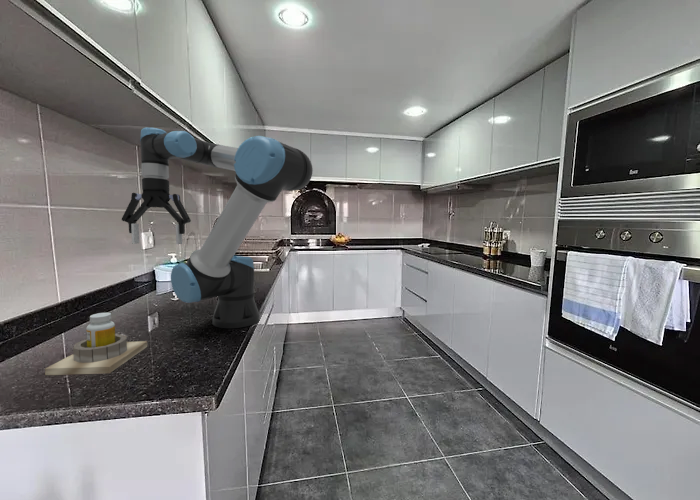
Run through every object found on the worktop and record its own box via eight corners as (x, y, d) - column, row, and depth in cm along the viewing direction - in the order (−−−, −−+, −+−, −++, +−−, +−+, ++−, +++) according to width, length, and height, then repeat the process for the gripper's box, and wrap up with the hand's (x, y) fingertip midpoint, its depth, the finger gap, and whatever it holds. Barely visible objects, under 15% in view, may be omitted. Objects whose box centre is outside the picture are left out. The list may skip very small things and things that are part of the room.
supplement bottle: (81, 358, 71) (79, 318, 70) (98, 349, 76) (96, 311, 76) (106, 357, 72) (104, 317, 71) (120, 348, 77) (119, 311, 76)
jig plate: (147, 346, 82) (146, 330, 82) (109, 373, 67) (108, 353, 67) (95, 347, 81) (94, 331, 80) (45, 375, 66) (44, 355, 66)
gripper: (200, 181, 104) (201, 243, 105) (122, 179, 101) (124, 242, 103) (191, 178, 96) (192, 244, 98) (106, 175, 93) (109, 243, 95)
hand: (157, 243), depth 100 cm, fingers open, 13 cm apart
